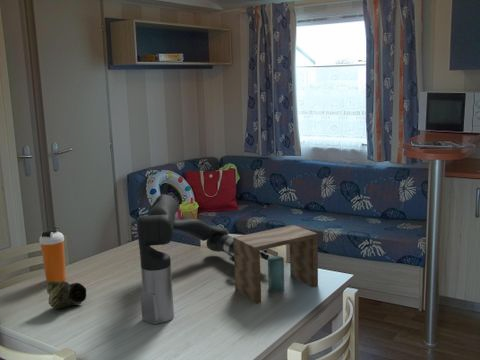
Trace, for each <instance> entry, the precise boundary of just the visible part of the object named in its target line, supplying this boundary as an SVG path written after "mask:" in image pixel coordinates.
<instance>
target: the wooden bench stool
mask: <svg viewBox="0 0 480 360" xmlns="http://www.w3.org/2000/svg"><path fill="white" fill-rule="evenodd" d="M318 237H319V236H318V233H317V232H315V231H312V230H309V229H306V228H303V227H301V226H298V225H295V224H292V225H287V226H282V227H278V228H277V227H276V228H272V229H267V230H263V231H258V232H254V233H253V232H252V233H248V234H243V235H237V236H233V247H234V262H233V263H234V264H233V266H234V267H233V268H234V270H233V271H234V289H235V291H236V292H237V293H239V294H240V295H242V296H244V297H245V298H247V299H248V300H250V301H251V302H253V303H255V304H260V303H262V284H261V282H262V281H261V280H262V279H261V258H260V250H264V249H266V250H268V249H271V248H272V249H273V248H277V247H282V246H286V245H289V267H290V268H289V270H290V273H289V274H290V276H291V277H292V278H294V279H296V280H298V281H300V282H302V283H304V284H306V285H308V286H310V287H312V288H317V287H319V262H318V261H319V257H318V255H319V254H318V250H319V249H318V248H319V247H318V242H319V241H318V240H319V239H318Z"/></svg>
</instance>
